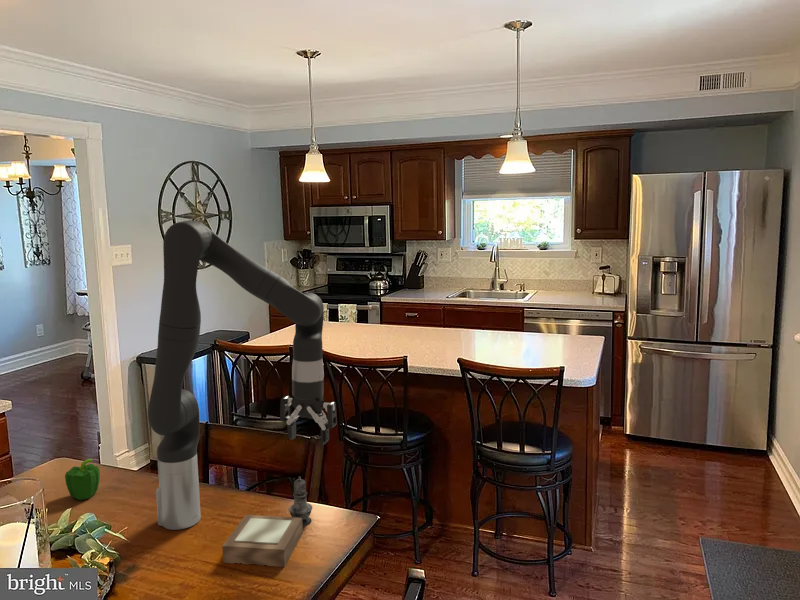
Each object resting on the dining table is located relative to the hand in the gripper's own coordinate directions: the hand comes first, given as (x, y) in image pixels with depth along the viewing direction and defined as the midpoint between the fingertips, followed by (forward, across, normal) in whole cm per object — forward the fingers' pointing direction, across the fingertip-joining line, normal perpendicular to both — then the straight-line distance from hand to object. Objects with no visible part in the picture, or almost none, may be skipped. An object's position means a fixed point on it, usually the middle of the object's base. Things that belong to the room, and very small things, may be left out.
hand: (308, 440), depth 149 cm
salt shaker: (+22, -2, 0) cm, 22 cm away
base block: (+21, -4, -14) cm, 26 cm away
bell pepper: (+23, -65, -7) cm, 69 cm away
